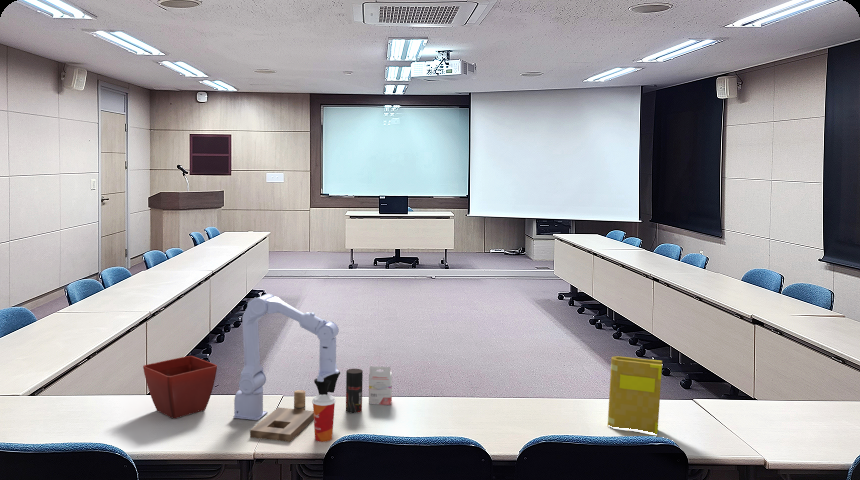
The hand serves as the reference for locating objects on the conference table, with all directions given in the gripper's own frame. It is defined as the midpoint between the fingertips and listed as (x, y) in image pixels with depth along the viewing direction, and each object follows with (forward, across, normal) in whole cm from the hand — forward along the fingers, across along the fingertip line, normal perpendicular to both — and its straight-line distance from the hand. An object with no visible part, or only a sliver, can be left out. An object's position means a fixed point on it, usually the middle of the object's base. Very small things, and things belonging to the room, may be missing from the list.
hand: (327, 395), depth 234 cm
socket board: (+10, -7, +13) cm, 18 cm away
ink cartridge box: (+10, +26, -12) cm, 30 cm away
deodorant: (+10, +15, -5) cm, 19 cm away
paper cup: (+10, -13, -4) cm, 17 cm away
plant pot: (+10, -2, +55) cm, 56 cm away
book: (+10, +24, -105) cm, 108 cm away
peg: (+10, +7, +13) cm, 18 cm away
